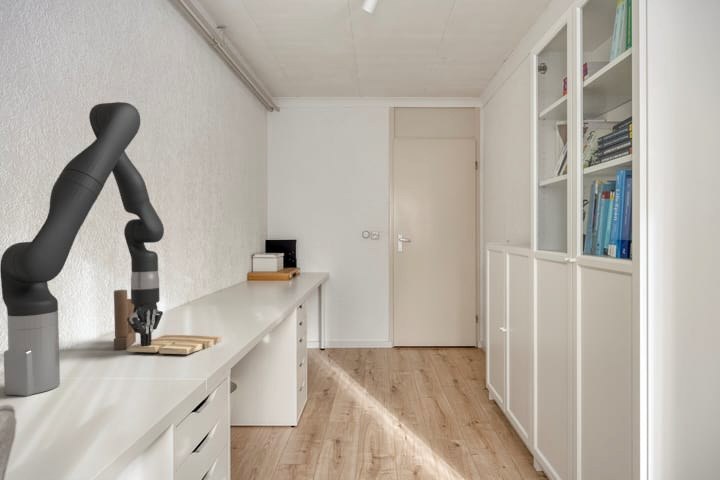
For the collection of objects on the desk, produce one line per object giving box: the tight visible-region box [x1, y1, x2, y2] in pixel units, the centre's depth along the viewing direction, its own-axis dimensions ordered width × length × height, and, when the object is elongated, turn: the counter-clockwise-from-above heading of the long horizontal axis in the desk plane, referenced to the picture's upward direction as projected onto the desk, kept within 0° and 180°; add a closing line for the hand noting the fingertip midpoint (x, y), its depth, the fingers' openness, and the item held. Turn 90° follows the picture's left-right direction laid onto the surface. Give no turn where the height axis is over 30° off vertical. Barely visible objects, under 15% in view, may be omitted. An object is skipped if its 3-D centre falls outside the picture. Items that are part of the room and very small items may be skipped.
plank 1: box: [127, 342, 173, 353], centre depth 131 cm, size 8×9×2 cm
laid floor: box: [151, 334, 222, 350], centre depth 139 cm, size 10×20×2 cm, turn 79°
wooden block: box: [113, 289, 137, 351], centre depth 138 cm, size 4×11×18 cm, turn 13°
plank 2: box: [158, 343, 203, 355], centre depth 129 cm, size 8×9×2 cm
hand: (146, 346), depth 129 cm, fingers closed
